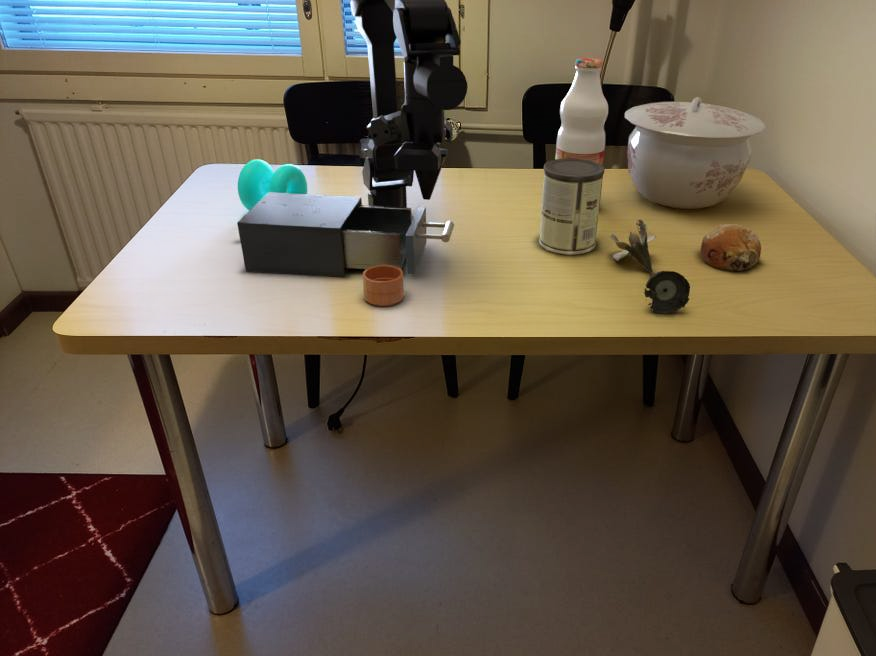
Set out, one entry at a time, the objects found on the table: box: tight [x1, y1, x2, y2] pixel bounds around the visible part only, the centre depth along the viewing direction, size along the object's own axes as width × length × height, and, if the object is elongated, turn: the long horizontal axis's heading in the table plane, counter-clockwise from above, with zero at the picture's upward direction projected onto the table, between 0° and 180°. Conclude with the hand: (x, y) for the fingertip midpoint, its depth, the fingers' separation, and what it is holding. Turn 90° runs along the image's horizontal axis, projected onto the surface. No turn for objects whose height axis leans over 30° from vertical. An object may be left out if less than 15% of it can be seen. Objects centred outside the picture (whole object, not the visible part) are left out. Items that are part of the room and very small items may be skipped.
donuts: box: [237, 158, 308, 212], centre depth 131 cm, size 10×10×10 cm
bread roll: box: [700, 223, 762, 272], centre depth 119 cm, size 10×10×8 cm
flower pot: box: [362, 265, 405, 307], centre depth 104 cm, size 6×6×4 cm
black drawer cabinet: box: [236, 192, 363, 278], centre depth 115 cm, size 16×14×8 cm
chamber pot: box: [624, 96, 767, 210], centre depth 141 cm, size 28×28×21 cm
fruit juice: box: [554, 57, 609, 166], centre depth 133 cm, size 9×9×28 cm
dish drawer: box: [342, 204, 455, 276], centre depth 114 cm, size 21×13×7 cm, turn 85°
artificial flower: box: [609, 219, 691, 315], centre depth 110 cm, size 9×22×10 cm, turn 179°
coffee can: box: [538, 158, 606, 256], centre depth 120 cm, size 10×10×14 cm
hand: (426, 198), depth 108 cm, fingers closed
